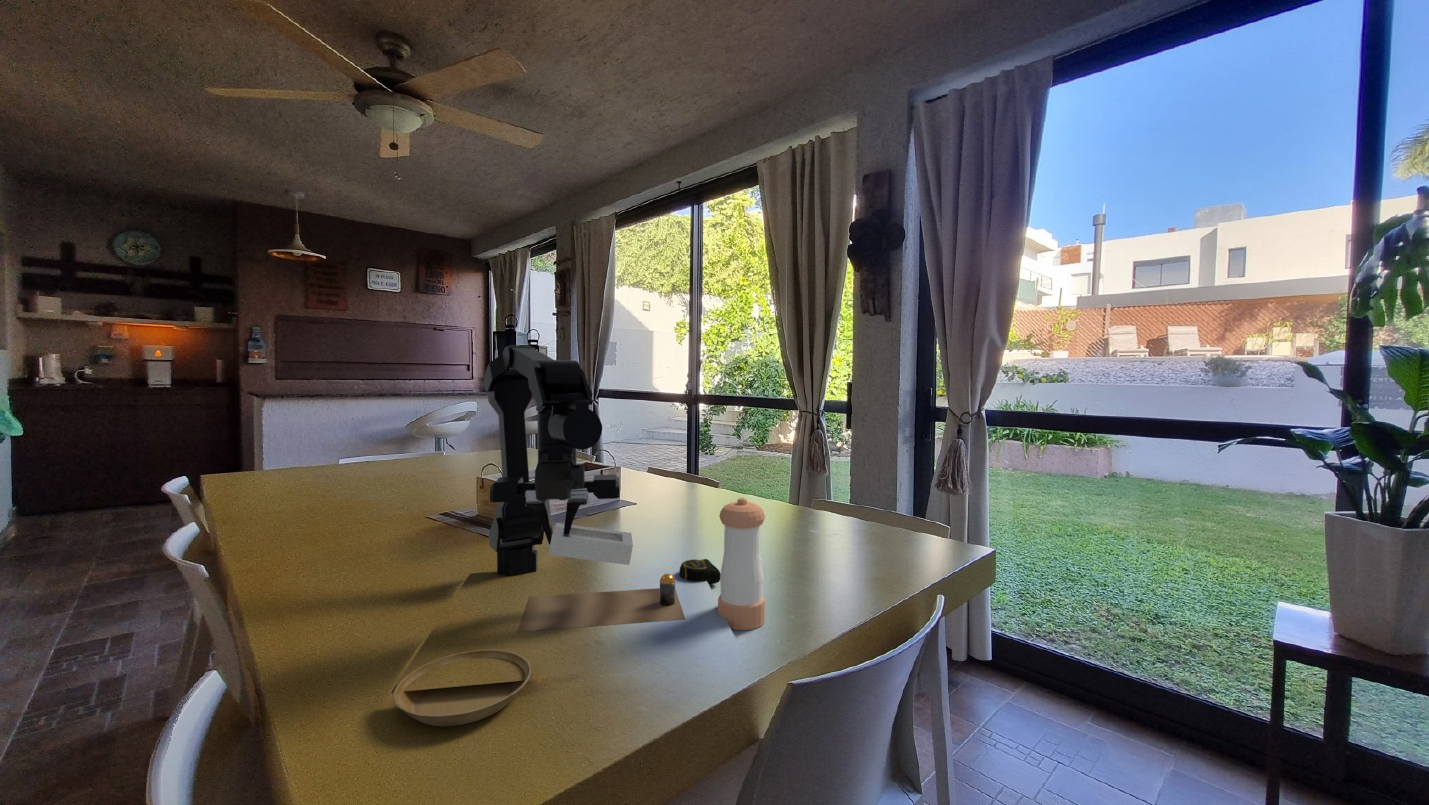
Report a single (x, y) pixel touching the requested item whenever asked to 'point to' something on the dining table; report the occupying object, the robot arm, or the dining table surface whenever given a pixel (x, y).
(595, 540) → the grey rectangular frame
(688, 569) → the tape measure
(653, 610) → the keeper board
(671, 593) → the keeper stud
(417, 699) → the plant saucer
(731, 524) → the pepper shaker
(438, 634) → the dining table surface
